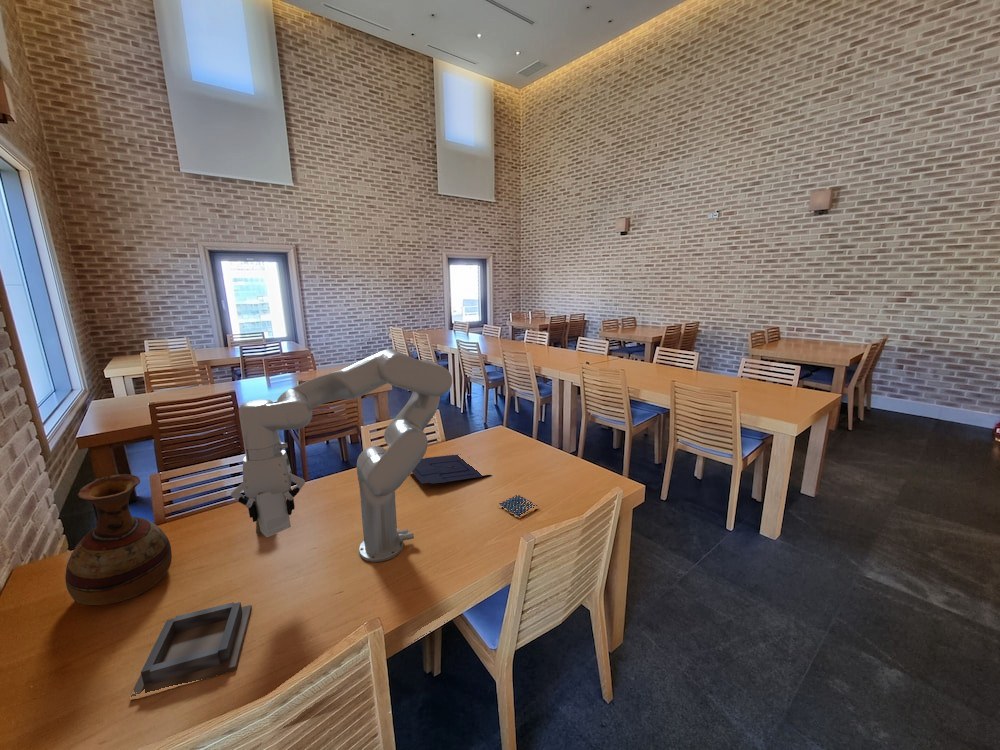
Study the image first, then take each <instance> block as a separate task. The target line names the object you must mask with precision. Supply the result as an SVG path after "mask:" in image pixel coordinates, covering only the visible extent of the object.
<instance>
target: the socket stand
mask: <svg viewBox="0 0 1000 750" xmlns="http://www.w3.org/2000/svg"><path fill="white" fill-rule="evenodd" d="M252 610H253V606H252V604H249V605H244V606H242V602H241V601H239V602H235V603H234V602H232V601H231V602H229V603H225V604H221V605H220V604H219V605H217V606H212V607H208V608H205V609H204V608H203V609H200V610H195V611H192V612H187V613H183V614H181V615H180V614H178V615H176V616H175V617H174V618H169V619H166V620H165V623H164V625H163V626H162V628H161V631H160V633H159V635H158V636H157V639H156V641H155V642H154V645H153V647H152V650H151V651H150V653H149V655H148V657H147V659H146V661H145V663H144V665H143V667H142V669H141V671H140V675H139V677H138V679H137V681H136V682H135V685H134V687H133V689H132V691H133V690H134V692H135V694H132V695H131V694H130V695H131V697H132V696H136V694H140V693H141V692H142V691H143V690H144V689H145V693H147V692H150V691H155V690H159V689H161V688H165V687H169V686H173V685H178V684H182V683H188V682H192V681H196V680H201V679H204V680H207V679H206V678H208V679H210V678H209V677H211V678H214V677H217V676H216V675H218V676H220V674H221V675H223V673H224V674H228V673H231V672H234V671H237V668H238V665H239V664H238V663H239V660H240V656H241V651H242V648H243V644H244V641H245V637H246V636H245V635H246V633H247V629H248V624H249V621H250V616H251V614H252V613H251V612H252ZM230 671H231V672H230ZM227 672H228V673H227ZM213 676H214V677H213ZM201 681H202V680H201ZM136 692H137V693H136Z"/></svg>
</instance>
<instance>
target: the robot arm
mask: <svg viewBox="0 0 1000 750" xmlns="http://www.w3.org/2000/svg"><path fill="white" fill-rule="evenodd" d="M386 384H389V385H391V386H393V387H395V388H399V389H403V390H406V391H410V392H412V393H411V395H410V397H409V399H408V401H407V403H406V404H405V405H404V406H403V408H401V410H400V411H399V412H398V414H397V415H396V416H394V418H393V420H392V421H391V422H390V423H389V424H388V425H387V427H386V428H385V430H384V432H383V433H384V434H383V438H384V441H385V443H386V445H387V446H388V449H385V448H384V447H382V446H377V445H373V446H368V447H366V448H364V450H362V451H361V452H360V453H359V456H357V460H356V475H357V480H358V488H359V494H360V495H359V496H360V508H361V519H362V520H361V521H362V533H363V541H362V542H361V543H360V544H359V548H358V554H359V556H360V558H361V559H363V560H364V561H367V562H371V563H381V562H385V561H388V560H391V559H392V558H395V557H397V556H398V555H399V554H400V553H401V552H402V550H403V548H404V541H408V540H413V539H414V537H415V536H414V535H415V534H414V531H411V532H410V531H409V529H408V528H406V529H403V530H400V529H399V528H398V525H397V523H398V522H397V507H396V506H397V505H396V491H397V490H398V489H399V488H400V487H401V486H402V484H403V483H404V482H405V481H406V480H407V478H408V477H409V476H410V475H411V474H412V473H413V472H412V471H413V470H414V468H415V467H416V466H417V465H418V463H419V462H420V461H421V459H424V456H425V455H426V453H427V449H428V445H429V442H428V437H427V435H426V433H425V431H424V430H425V428H426V427H427V426H428V425H429V424H430V421H432V419H433V418H434V417H435V414H436V413H437V410H438V409H439V405H440V400H441V397H442V396H444V395H445V394H447V393H448V392H449V391H450V390H451V388H452V385H453V377H452V374H451V372H450V371H449V370H448V369H447V368H446V367H444V366H442V365H440V364H438V363H436V362H434V361H432V360H429V359H420V360H419V359H417V358H415V357H411V356H409V355H406V354H404V353H403V352H400V351H398V350H397V349H392V348H388V349H383V350H381V351H379V352H376V353H374V354H372V355H369V356H367V357H366V358H363V359H361V360H359V361H357V362H355V363H352V364H351V365H348V366H345V367H344V368H341V369H338V370H336V371H333V372H329V373H327V374H323V375H320V376H317V377H314V378H311V379H308V380H307V381H304V382H301V383H300V384H298V385H296V386H294V387H292V388H289V389H288V390H286V391H284V392H283V393H281V395H279V397H278V398H277V400H276V402H274V401H273V400H270V399H260V398H259V399H253V400H249V401H245V402H243V403H242V404H241V405H239V407H238V415H239V416H238V417H239V422H240V429H241V435H242V441H243V447H244V453H245V456H244V457H243V459H242V482H241V483H240V484H239V485H238V486H237V487H236V488H234V489H233V490H232V492H231V493H230V497H232V498H233V499H235V500H237V501H238V503H239V504H242V505H244V506H245V508H247V510H248V514H249V518H252V522H253V523H256V521H257V518H258V515H257V509H256V504H255V497H257V494H259V493H264V492H271V494H279V493H283V494H284V495H285V496H286V499H287V501H286V504H287V511H288V515H289V516H292V513H293V512H292V511H294V510H295V509H296V508H295V500H294V499H295V497H296V496H297V494H298V493H299V492H300V490H301V489H302V488H303V487H304V486H305V484H306V480H305V479H303V478H302V477H299V476H297V475H295V474H293V473H292V469H291V464H290V460H289V457H288V454H287V452H286V450H285V449H288V442H282V440H281V438H280V431H287V430H289V431H293V430H298V429H299V430H300V429H303V428H304V427H305V428H306V427H307V426H308V425H309V424H310V423H311V421H312V419H313V410H312V409H314V408H316V407H318V406H320V405H323V404H326V403H328V402H331V401H336V400H355V399H360V397H362V396H364V395H365V396H366V394H369V393H371V392H373V391H374V390H376V389H379V388H380V387H383V386H385V385H386ZM293 483H294V484H296V485H295V487H293V489H292V484H293ZM242 492H243V493H244V494H242Z"/></svg>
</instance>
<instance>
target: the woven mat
mask: <svg viewBox="0 0 1000 750" xmlns="http://www.w3.org/2000/svg"><path fill="white" fill-rule="evenodd" d="M517 495H518V496H517ZM521 496H522V495H520V494H515V495H514V496H511V497H509V498H508V499H506V500H505V501H504V500H502V502H499V503H498V505H500V506H503V507H504V508H506V509H507V510H508V511H510V512H511V513H514V514H515V515H518V516H519V517H520V515H521V514H523V513H525V512H526V511H528V510H529V509H530V508H532V505H533V503H534V502H533V501H531V500H530V499H527V498H525V497H523V496H522V497H521ZM514 497H515V498H514ZM520 498H521V499H520ZM523 500H524V501H525V502H524V501H523ZM526 500H527V501H529V502H530V504H531V503H532V504H531V505H530V504H529V502H528V503H527V504H528V505H527V504H526V502H527V501H526ZM517 502H518V503H517ZM520 502H521V503H520ZM523 502H524V503H523ZM522 503H523V504H522ZM521 504H522V505H521ZM524 504H525V505H526V506H525V505H524ZM534 504H535V505H536V503H534ZM513 505H514V506H513ZM529 505H530V506H531V507H530V506H529ZM535 505H533V506H535ZM524 506H525V507H524ZM527 506H528V507H527ZM536 506H537V507H538V505H536ZM519 507H520V508H519ZM523 507H524V509H523ZM526 507H527V508H528V509H527V510H526ZM529 507H530V508H529ZM533 508H534V507H533ZM511 509H512V510H511ZM516 509H518V510H516ZM507 510H506V511H507ZM514 511H515V512H514ZM520 513H521V514H520Z"/></svg>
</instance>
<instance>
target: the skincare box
mask: <svg viewBox="0 0 1000 750" xmlns="http://www.w3.org/2000/svg"><path fill="white" fill-rule="evenodd" d="M254 501H255V504H256V509H257V515H258V520H259V526H260V531H261V532H262V533H263V534H264V535H263V536H264V537H265V538H269V537H271V536H274V535H276V534H278V533H281V532H283V531H284V530H287V529H289V528H291V526H292V525H291V519H290V515H288V511H287V504H286V501H287V497H286V496H285V495H284V494H283V493H279V494H271V492H264V493H259V494H257V497H255V500H254Z"/></svg>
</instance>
